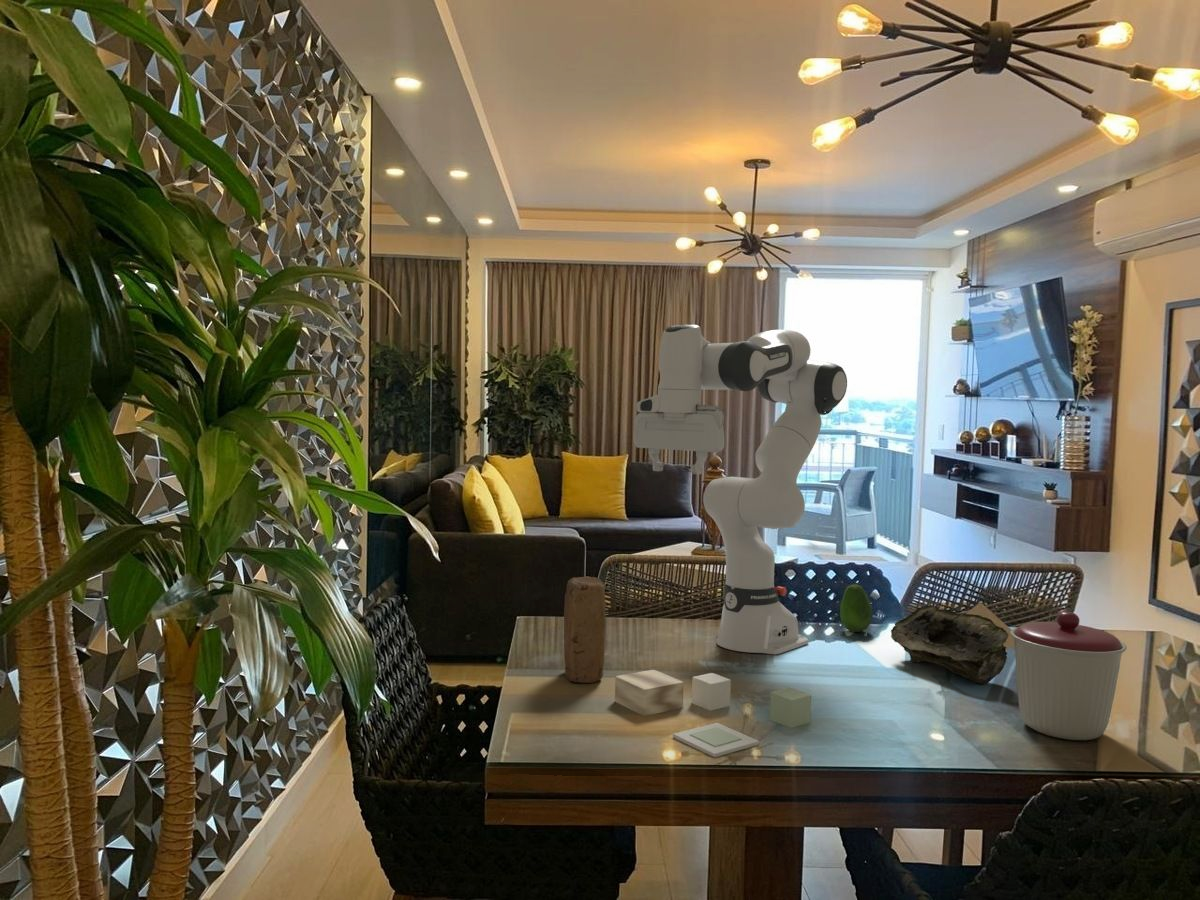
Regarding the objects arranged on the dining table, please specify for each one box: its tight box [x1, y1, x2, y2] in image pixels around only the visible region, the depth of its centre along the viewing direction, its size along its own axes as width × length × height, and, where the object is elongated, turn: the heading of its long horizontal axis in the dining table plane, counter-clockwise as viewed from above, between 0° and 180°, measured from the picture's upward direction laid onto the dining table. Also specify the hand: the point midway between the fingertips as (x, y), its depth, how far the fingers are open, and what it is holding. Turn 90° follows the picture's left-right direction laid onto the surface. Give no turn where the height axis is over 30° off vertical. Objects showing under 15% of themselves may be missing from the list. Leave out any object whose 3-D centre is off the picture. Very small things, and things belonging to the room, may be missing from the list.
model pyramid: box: [965, 601, 1015, 651], centre depth 218 cm, size 17×17×10 cm
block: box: [563, 576, 606, 684], centre depth 180 cm, size 11×8×20 cm
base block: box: [614, 669, 685, 717], centre depth 165 cm, size 9×9×5 cm
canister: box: [1010, 611, 1128, 741], centre depth 157 cm, size 18×18×21 cm
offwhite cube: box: [691, 672, 732, 711], centre depth 166 cm, size 5×5×5 cm
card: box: [672, 722, 760, 758], centre depth 148 cm, size 10×10×1 cm
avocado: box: [839, 583, 873, 633], centre depth 223 cm, size 8×8×12 cm
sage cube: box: [769, 687, 812, 729], centre depth 158 cm, size 5×5×5 cm
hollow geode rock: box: [890, 604, 1008, 686], centre depth 191 cm, size 28×13×15 cm
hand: (676, 472), depth 181 cm, fingers open, 8 cm apart
